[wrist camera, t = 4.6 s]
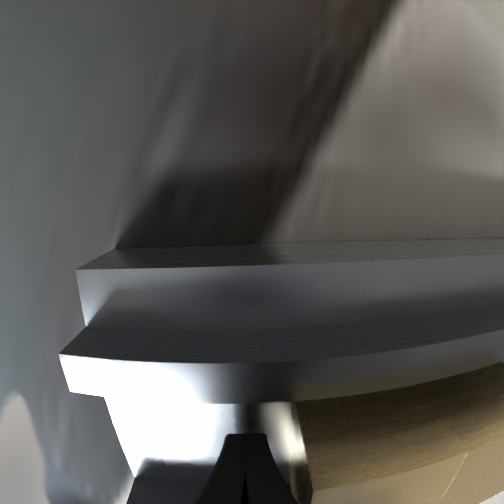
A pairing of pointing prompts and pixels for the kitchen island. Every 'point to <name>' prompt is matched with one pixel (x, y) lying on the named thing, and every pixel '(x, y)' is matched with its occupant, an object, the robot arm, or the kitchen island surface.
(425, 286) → the slot block
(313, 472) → the wooden cube
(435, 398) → the chip
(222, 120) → the kitchen island surface
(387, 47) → the kitchen island surface
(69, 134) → the kitchen island surface
